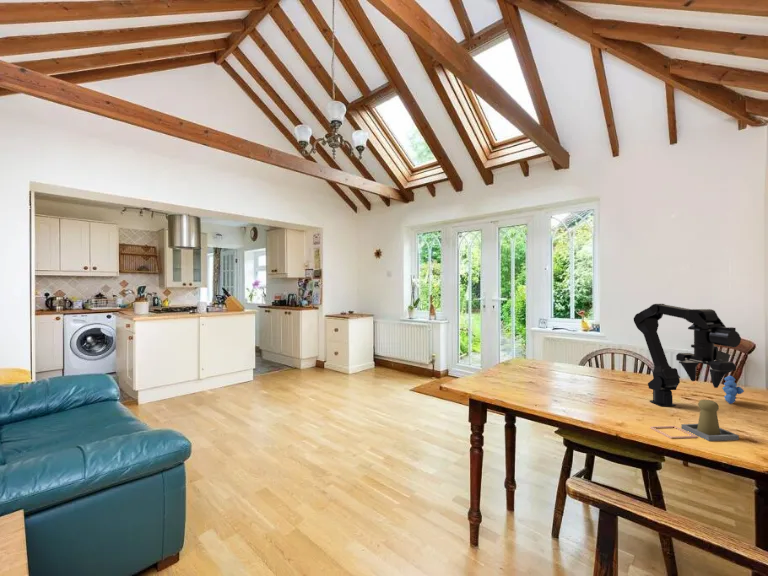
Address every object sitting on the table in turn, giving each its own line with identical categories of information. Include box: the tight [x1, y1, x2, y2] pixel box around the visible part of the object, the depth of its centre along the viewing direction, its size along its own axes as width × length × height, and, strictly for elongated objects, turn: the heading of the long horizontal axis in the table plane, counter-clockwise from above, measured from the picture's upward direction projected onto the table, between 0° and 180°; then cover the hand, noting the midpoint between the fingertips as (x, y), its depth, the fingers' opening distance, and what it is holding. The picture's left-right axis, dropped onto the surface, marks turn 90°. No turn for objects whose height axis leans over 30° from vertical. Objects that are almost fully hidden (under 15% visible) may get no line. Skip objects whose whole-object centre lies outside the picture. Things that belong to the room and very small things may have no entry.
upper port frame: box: [649, 425, 698, 439], centre depth 124 cm, size 9×9×1 cm
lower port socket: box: [680, 423, 740, 442], centre depth 123 cm, size 10×10×2 cm
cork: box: [697, 399, 721, 435], centre depth 123 cm, size 6×6×11 cm
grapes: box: [721, 375, 745, 404], centre depth 152 cm, size 12×7×12 cm, turn 142°
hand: (704, 384), depth 136 cm, fingers open, 9 cm apart
